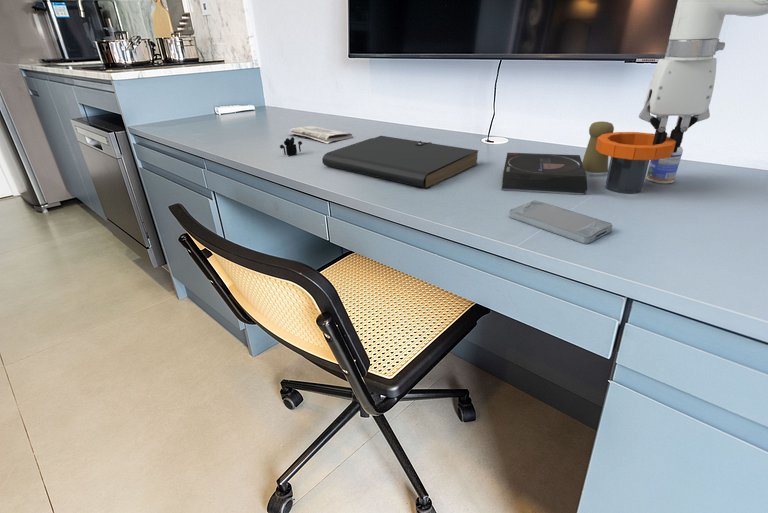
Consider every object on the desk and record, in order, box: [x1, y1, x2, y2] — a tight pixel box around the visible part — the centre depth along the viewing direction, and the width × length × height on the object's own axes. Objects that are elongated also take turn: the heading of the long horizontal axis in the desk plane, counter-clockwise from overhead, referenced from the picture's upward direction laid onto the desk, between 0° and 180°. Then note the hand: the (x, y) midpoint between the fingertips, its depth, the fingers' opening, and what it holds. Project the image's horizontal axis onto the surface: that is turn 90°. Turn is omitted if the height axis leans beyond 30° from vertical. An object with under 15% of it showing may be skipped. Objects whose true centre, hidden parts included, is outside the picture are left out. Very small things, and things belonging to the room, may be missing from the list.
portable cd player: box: [501, 152, 588, 196], centre depth 98 cm, size 16×17×4 cm
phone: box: [509, 200, 613, 245], centre depth 78 cm, size 8×16×1 cm, turn 37°
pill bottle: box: [646, 133, 684, 184], centre depth 94 cm, size 5×5×10 cm
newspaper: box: [287, 125, 353, 145], centre depth 150 cm, size 23×12×2 cm, turn 43°
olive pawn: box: [582, 121, 615, 173], centre depth 103 cm, size 6×6×11 cm
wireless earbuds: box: [279, 136, 303, 157], centre depth 128 cm, size 7×2×5 cm, turn 126°
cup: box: [604, 156, 650, 194], centre depth 91 cm, size 7×7×8 cm
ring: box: [596, 131, 676, 161], centre depth 89 cm, size 14×14×2 cm
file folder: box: [322, 135, 479, 189], centre depth 113 cm, size 33×4×24 cm
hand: (664, 150), depth 88 cm, fingers closed on ring, 1 cm apart
